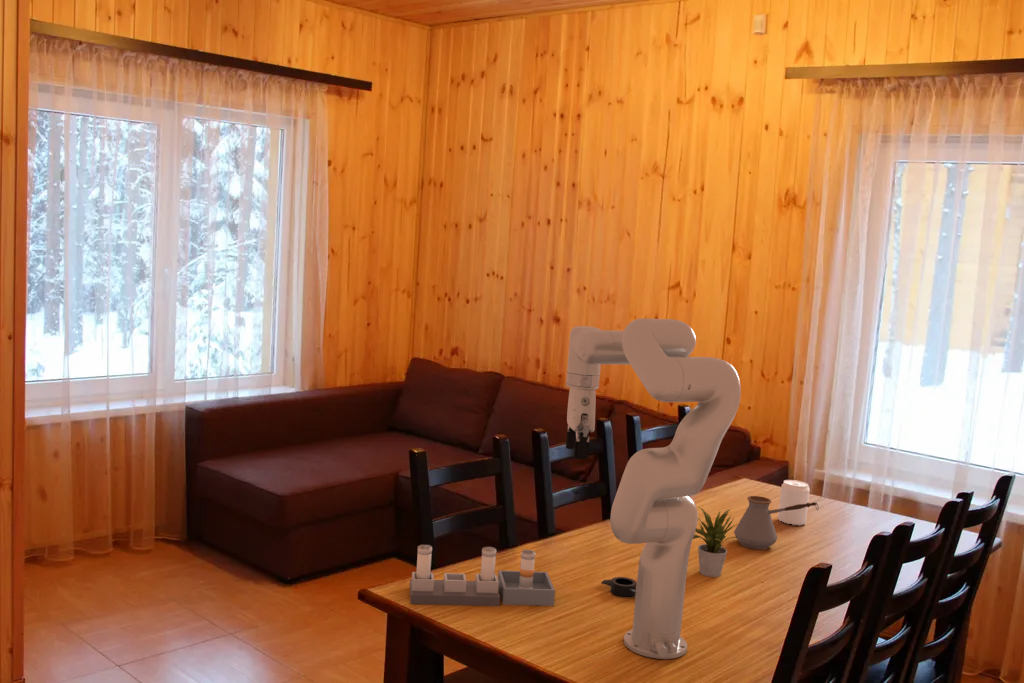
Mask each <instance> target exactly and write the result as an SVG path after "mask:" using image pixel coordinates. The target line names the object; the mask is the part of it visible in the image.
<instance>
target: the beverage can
mask: <svg viewBox="0 0 1024 683" xmlns="http://www.w3.org/2000/svg"><path fill="white" fill-rule="evenodd" d="M810 491H811V490H810V486H809V483H807V482H804V481H801V480H794V479H785V480H783V483H782V484H781V488H780V495H779V503H778V504H779V505H778V509H781V508H786V507H790V506H794V505H798V504H807V503H809V499H810ZM808 509H809V507H804V508H802V509H796V510H788V511H781V512H777V514H778V515H777V519H778V521H780V522H781V521H782V522H781V523H783V522H784V523H783V524H785V523H787V524H786V525H788V524H792V525H791V526H795V525H798V526H802V525H805V524H806V523H807V517H808V516H807V515H808Z"/></svg>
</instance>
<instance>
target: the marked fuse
mask: <svg viewBox="0 0 1024 683" xmlns="http://www.w3.org/2000/svg"><path fill="white" fill-rule="evenodd" d="M520 553H521V554H520V566H519V571H520V578H519V588H525V589H532V588H533V586H532V585H533V576H534V571H535V561H536V560H535V559H536V551H534V550H532V549H522V550H521V552H520Z"/></svg>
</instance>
